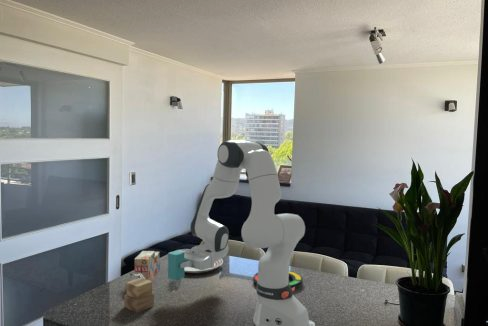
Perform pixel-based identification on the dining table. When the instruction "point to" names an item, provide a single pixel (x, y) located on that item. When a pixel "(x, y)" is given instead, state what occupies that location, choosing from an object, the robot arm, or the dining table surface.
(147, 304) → the walnut base block
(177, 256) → the teal pillar
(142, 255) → the stack of blocks
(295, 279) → the electronic game
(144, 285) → the oak top block
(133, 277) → the game die
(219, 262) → the dinner plate
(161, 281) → the dining table surface
